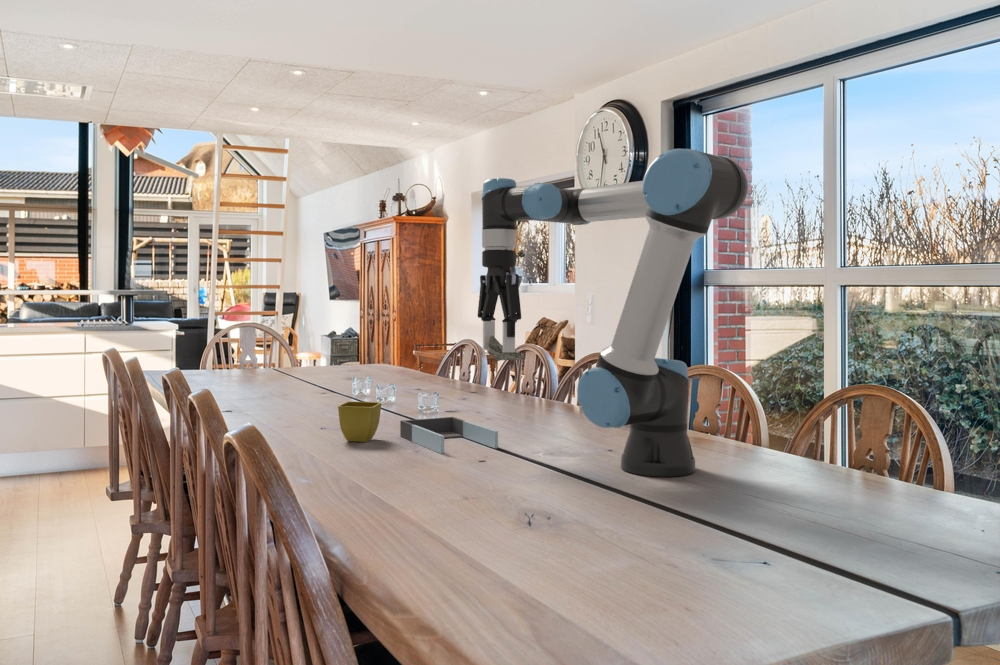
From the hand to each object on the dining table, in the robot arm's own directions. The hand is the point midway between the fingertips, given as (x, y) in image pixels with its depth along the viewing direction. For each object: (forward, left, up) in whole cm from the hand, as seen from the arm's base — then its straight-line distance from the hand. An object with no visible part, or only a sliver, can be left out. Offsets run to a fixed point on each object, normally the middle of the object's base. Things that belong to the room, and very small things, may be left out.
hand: (498, 350), depth 184 cm
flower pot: (+30, +22, -24) cm, 44 cm away
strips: (+15, +4, -23) cm, 28 cm away
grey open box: (+27, +4, -23) cm, 36 cm away
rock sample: (0, -2, -2) cm, 3 cm away
